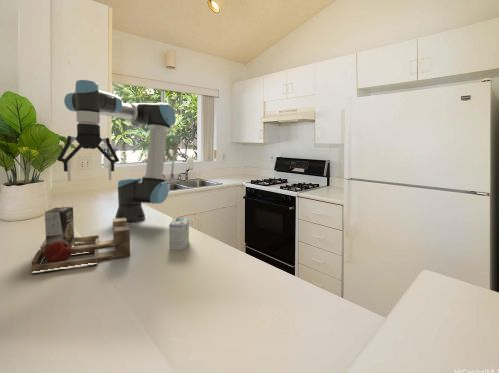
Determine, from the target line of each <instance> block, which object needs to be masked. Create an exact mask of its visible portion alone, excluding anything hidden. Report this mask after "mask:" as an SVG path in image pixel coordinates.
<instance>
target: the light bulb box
mask: <svg viewBox="0 0 499 373" xmlns="http://www.w3.org/2000/svg"><path fill="white" fill-rule="evenodd" d="M168 234H169V236H168V246H169V247H168V250H169V251H173V250H174V251H186V249H187V247H188V244H189V242H190V239H189V238H190V218H189V217H173V219H172V221H171V222H170V223H169V226H168Z"/></svg>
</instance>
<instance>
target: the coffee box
mask: <svg viewBox="0 0 499 373" xmlns="http://www.w3.org/2000/svg"><path fill="white" fill-rule="evenodd" d="M74 220H75V219H74V206H66V207H64V206H61V207H54V208H52V209H49V210H47V211H44V224H45V229H44V230H45V239H46V247H47V246H49V245H50V244H51V243H53V242H56V241H62V242H65V243H67V244H69V245H70V247H72V246H73V245H74V244H75V241H74V237H75V226H74V225H75V224H74V223H75V222H74ZM75 245H76V244H75Z"/></svg>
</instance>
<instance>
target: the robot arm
mask: <svg viewBox="0 0 499 373" xmlns="http://www.w3.org/2000/svg"><path fill="white" fill-rule="evenodd" d="M99 86H100V85H99V84H98V83H97V82H95V81H94V80H88V79H79V80H76V81H75V88H74V90H75V91H74V92H68V93H67V94H65V96H64V98H63V100H64V106H65V108H66V109H68V110H69V111H71V112H74V113H75V112H76V122H77V124H76V136H71V135H67V137H66V142H65V145H64V146H63V148H62V150H61V151H60V153H59V155H58V157H57V161H58V162H61V163H63V171H64V172H67V181H69V182H71V180H72V176H71V175H72V174H71V173H72V172H71V162H69V161H70V160H71V159H72V158H73V157H74V156H75V155H76V154H77V153H78V152H79V151H80V150H81V149H82V148H83V149H85V150H86V149H90V150H95V149H98V151H99V152H100V153H101V154H102V155H103V156H104V157H105V158H106V159H107V160H108V161H109V162H108V180H109V181H112V172H115V163H119V162H120V159H119V157H118V155H117V153H116V152H115V150H114V148H113V146H112V144H111V142H110V138H109V137H106V138H101V126H100V125H99V124H100V123H101V122H100V121H101V119H100V117H101V116H106V117H112V118H118V119H124V120H125V121H127V122H129V123H130V122H131V123H135V124H138V125H144V126H147V128H148V129H149V138H148V139H149V141H148V149H147V157H146V168H145V174H144V175H143V176H142V178H141V177H131V178H123V179H120V180H118V181H117V183H118V184H117V194H118V195H117V197H118V198H117V199H118V201H117V204H118V208H117V210H116V214H115V216H114V219H116V218H126V219H127V224H136V223H140V222H144V221H145V220H146V214H145V212H144V209H143V206H142V204H143V203H144V204H152V205H155V204H157V205H160V204H163V203H164V202H165V201H166V199H167V197H168V195H169V192H170V190H169V189H170V188H169V184H168V183H167V182H166V179H165V177H164V164H165V157H166V156H165V155H166V154H165V153H166V147H167V146H166V144H167V136H168V132H169V131H171V127H173V126H174V125H175V123H176V113H175V109H174V108H173V106H172V104H170V103H168V102H167V103H165V102H157V103H155V102H151V103H150V102H148V103H147V102H146V103H145V102H143V103H132V102H127V103H124V102H123V100H122V98H121V97H120V96H119V95H116V94H114V93H111V92H107V91H103V90H100V87H99ZM100 115H101V116H100ZM74 141H76V142H77V143H78V145H77V146H76V147H75V148H74V149H73V150H72V151H71V152H70V153H69V154H68V155H67V156H66V157H65V155H66V153H67V152H68V150H69V148H70V146H71V143H74ZM102 142H103V144H104V145H105V144H106V147H107V148H108V149H109V152H110V153H111V155H112V157H111V156H110V155H109V154H108V153H107V152H106V151H105V150H104V148H102V147H101V146H100V144H101V143H102ZM64 157H65V158H64ZM112 158H114V159H112Z"/></svg>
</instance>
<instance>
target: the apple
mask: <svg viewBox="0 0 499 373" xmlns="http://www.w3.org/2000/svg"><path fill="white" fill-rule="evenodd" d="M71 252H72V248H71V247H70V245H69V244H67V243H65V242H62V241H56V242H53V243H51V244H50V245H49V246H47V247H46V249H45V250H44V257H45V259H44V260H46V261H47V263H53V262H61V261H69V259H70V257H71V256H70V255H71Z"/></svg>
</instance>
